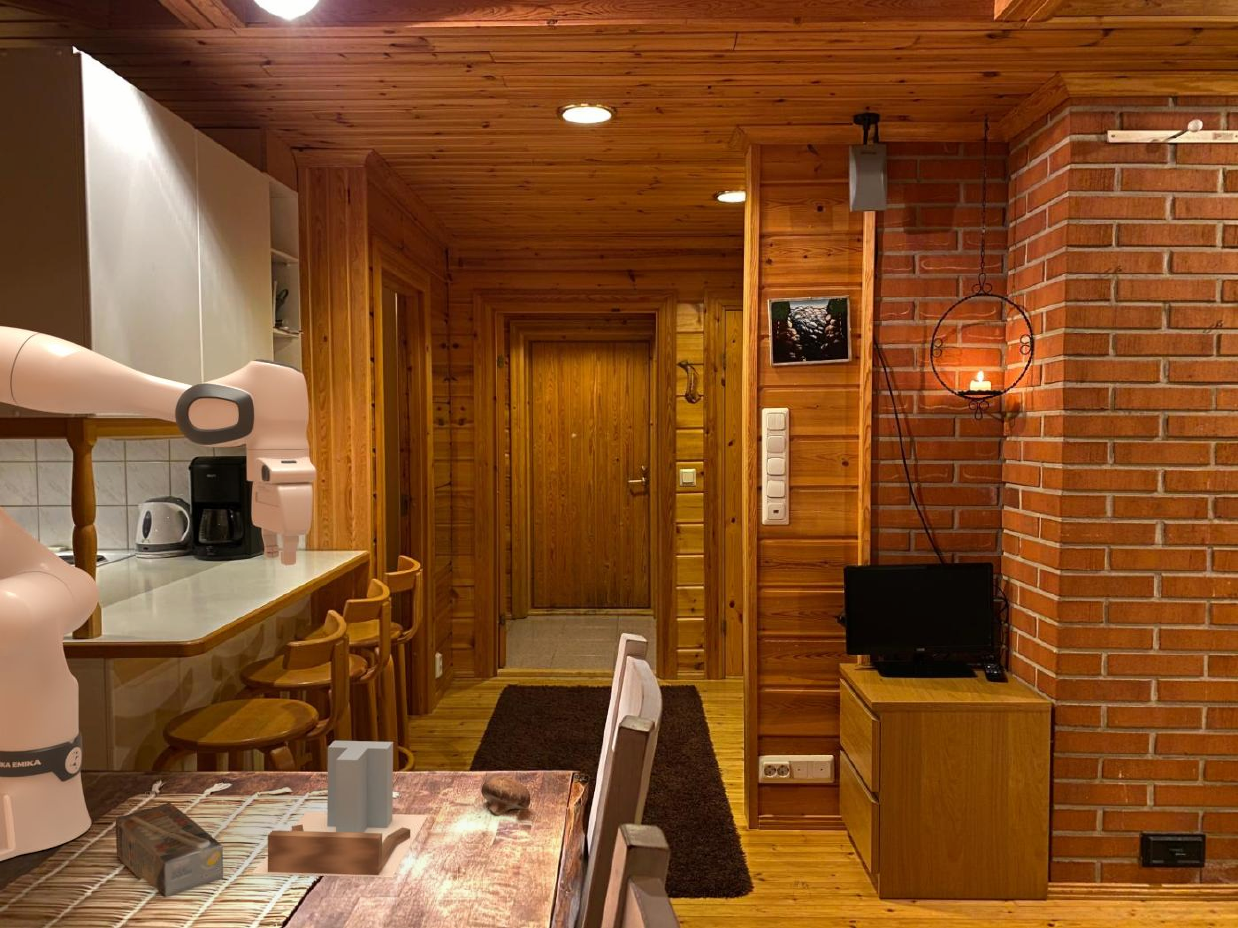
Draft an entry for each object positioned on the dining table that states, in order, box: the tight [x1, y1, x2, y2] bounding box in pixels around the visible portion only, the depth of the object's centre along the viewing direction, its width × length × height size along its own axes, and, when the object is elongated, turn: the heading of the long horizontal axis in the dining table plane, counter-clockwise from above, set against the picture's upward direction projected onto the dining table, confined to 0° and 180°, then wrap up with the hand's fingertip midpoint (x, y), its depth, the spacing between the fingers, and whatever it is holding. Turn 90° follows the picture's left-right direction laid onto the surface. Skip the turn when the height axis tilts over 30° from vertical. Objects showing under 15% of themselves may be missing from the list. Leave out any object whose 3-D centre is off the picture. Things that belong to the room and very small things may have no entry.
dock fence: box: [267, 825, 410, 875], centre depth 128 cm, size 18×12×5 cm
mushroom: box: [480, 776, 531, 817], centre depth 145 cm, size 8×8×6 cm
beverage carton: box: [115, 802, 224, 898], centre depth 124 cm, size 8×19×6 cm, turn 46°
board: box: [250, 811, 429, 879], centre depth 131 cm, size 19×20×1 cm
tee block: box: [326, 740, 394, 833], centre depth 135 cm, size 9×8×12 cm
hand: (280, 560), depth 137 cm, fingers open, 8 cm apart
